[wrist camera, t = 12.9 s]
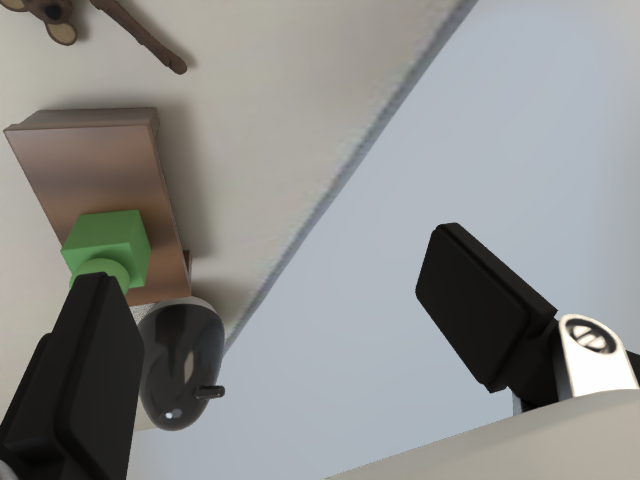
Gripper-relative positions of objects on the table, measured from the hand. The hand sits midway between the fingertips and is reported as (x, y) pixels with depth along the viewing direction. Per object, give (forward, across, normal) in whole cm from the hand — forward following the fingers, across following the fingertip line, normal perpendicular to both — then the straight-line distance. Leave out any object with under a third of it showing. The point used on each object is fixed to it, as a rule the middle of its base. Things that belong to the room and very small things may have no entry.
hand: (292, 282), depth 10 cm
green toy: (+20, +11, +10) cm, 25 cm away
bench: (+26, +11, +10) cm, 30 cm away
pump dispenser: (+26, +9, +27) cm, 39 cm away
